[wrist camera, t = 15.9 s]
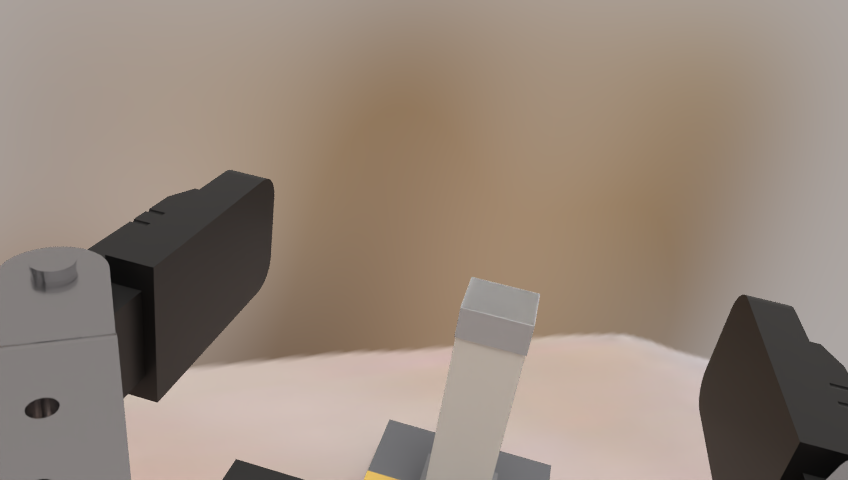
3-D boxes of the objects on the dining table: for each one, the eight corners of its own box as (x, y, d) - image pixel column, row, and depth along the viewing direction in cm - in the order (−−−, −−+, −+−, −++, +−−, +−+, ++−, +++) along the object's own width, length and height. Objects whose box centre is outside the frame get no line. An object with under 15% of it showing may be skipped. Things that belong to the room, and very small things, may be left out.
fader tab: (484, 539, 35) (541, 335, 30) (409, 516, 36) (450, 311, 30) (495, 482, 39) (548, 290, 33) (426, 462, 40) (466, 269, 34)
